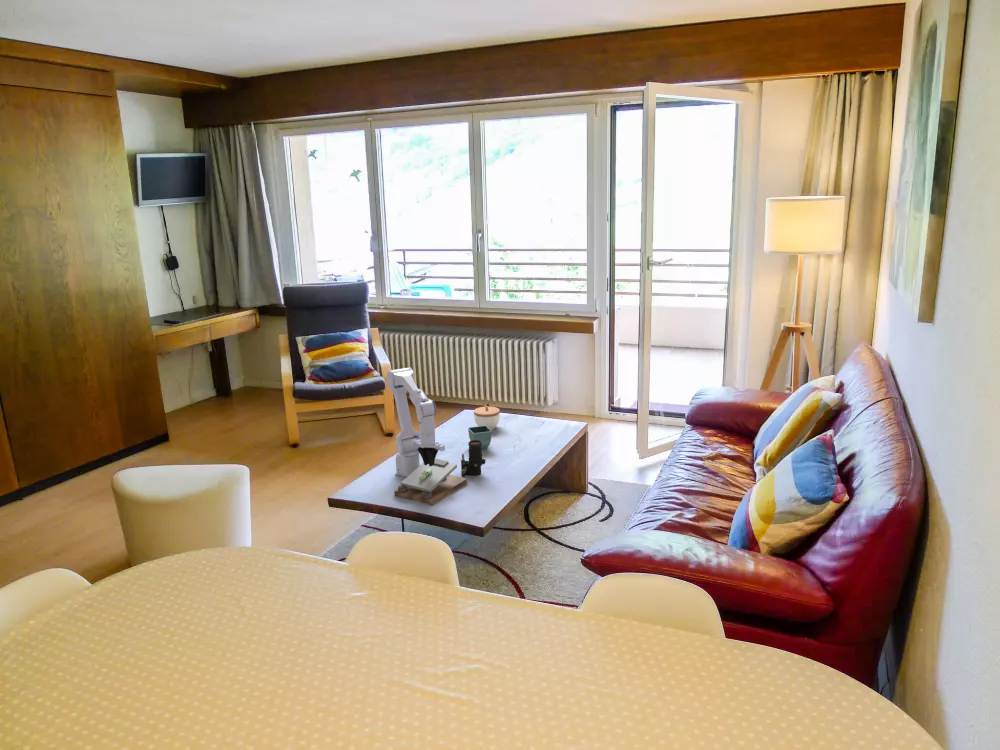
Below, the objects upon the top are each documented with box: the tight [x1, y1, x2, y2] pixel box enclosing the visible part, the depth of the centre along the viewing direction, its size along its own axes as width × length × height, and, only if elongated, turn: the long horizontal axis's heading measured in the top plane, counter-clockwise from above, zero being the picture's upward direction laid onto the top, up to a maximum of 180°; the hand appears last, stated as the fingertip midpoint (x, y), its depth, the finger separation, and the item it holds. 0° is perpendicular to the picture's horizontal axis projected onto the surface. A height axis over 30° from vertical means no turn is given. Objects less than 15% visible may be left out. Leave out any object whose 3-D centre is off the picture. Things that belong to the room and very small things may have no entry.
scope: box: [460, 440, 486, 478], centre depth 289 cm, size 8×14×10 cm
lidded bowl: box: [473, 405, 501, 431], centre depth 343 cm, size 13×13×11 cm
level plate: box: [400, 458, 458, 492], centre depth 274 cm, size 14×18×3 cm
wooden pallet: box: [393, 474, 468, 506], centre depth 277 cm, size 18×23×4 cm
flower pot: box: [467, 425, 493, 450], centre depth 318 cm, size 9×9×9 cm
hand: (429, 465), depth 274 cm, fingers closed
